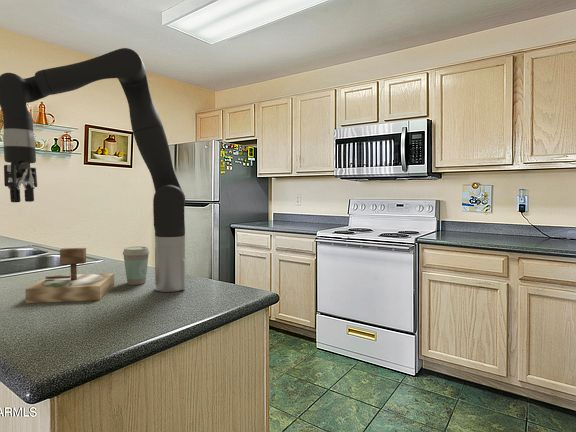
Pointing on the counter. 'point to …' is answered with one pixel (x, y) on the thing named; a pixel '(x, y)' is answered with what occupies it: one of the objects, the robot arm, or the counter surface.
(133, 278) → the coffee cup
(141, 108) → the robot arm
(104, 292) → the dial board
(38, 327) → the counter surface
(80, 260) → the key
